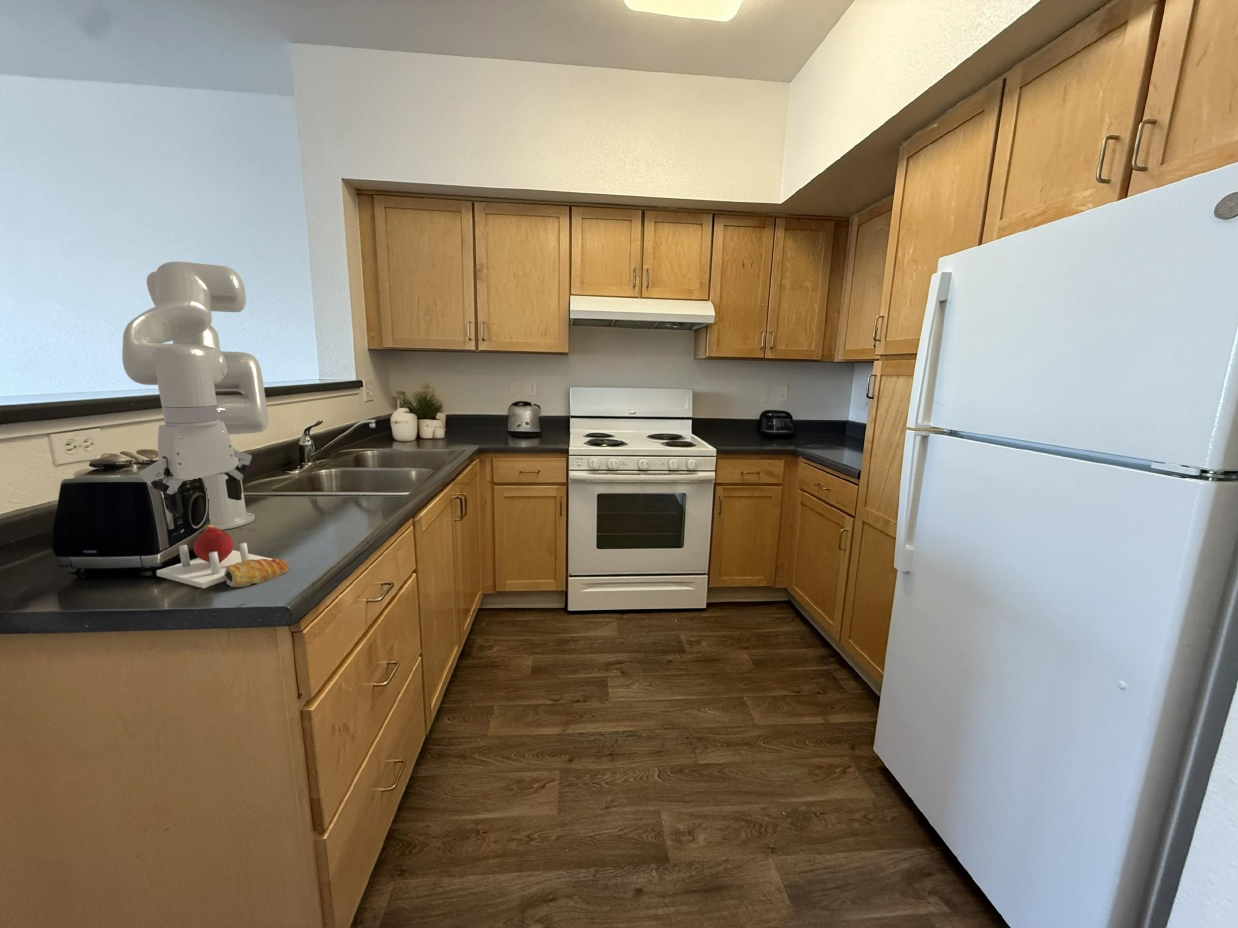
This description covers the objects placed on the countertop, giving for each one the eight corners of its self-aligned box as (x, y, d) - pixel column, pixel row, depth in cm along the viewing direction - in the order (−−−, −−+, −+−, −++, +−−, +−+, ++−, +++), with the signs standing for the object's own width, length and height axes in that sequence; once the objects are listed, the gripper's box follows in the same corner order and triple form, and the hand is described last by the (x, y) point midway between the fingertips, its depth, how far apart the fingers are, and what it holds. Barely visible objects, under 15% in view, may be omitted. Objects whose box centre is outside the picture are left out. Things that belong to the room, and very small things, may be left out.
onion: (231, 555, 97) (225, 517, 95) (239, 563, 93) (233, 523, 92) (194, 564, 93) (186, 524, 91) (200, 573, 89) (193, 531, 87)
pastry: (280, 566, 95) (278, 547, 95) (295, 574, 91) (293, 555, 91) (221, 582, 88) (218, 562, 87) (234, 592, 84) (231, 572, 83)
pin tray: (157, 575, 90) (152, 550, 89) (228, 553, 101) (224, 530, 100) (203, 588, 85) (198, 561, 84) (273, 563, 96) (269, 539, 95)
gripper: (231, 409, 97) (243, 492, 101) (117, 419, 81) (137, 516, 85) (255, 412, 94) (267, 496, 98) (143, 423, 78) (162, 523, 82)
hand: (207, 505), depth 91 cm, fingers open, 9 cm apart
